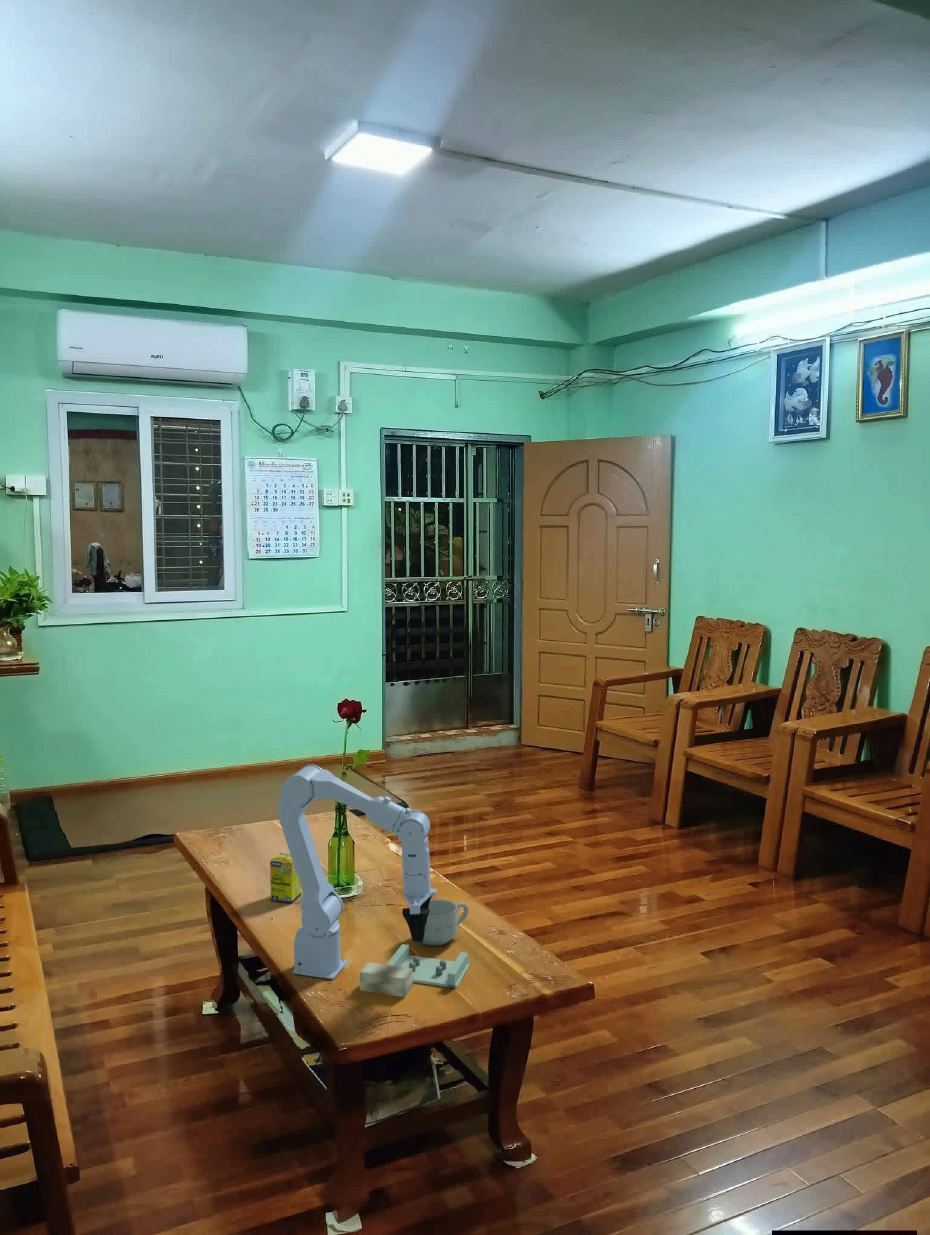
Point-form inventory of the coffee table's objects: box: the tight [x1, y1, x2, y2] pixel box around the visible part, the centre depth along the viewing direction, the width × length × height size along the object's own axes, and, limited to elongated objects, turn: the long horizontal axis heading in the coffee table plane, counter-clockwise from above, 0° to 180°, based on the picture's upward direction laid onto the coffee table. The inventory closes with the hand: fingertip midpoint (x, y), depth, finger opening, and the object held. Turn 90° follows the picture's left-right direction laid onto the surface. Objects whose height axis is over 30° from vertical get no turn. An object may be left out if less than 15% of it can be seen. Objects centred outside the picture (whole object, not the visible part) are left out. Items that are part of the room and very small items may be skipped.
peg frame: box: [385, 943, 471, 989], centre depth 201 cm, size 16×10×3 cm, turn 74°
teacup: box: [421, 899, 470, 946], centre depth 217 cm, size 14×11×8 cm
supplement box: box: [269, 852, 302, 905], centre depth 239 cm, size 6×6×11 cm
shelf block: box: [359, 961, 414, 998], centre depth 194 cm, size 10×4×4 cm, turn 74°
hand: (419, 933), depth 197 cm, fingers open, 7 cm apart
